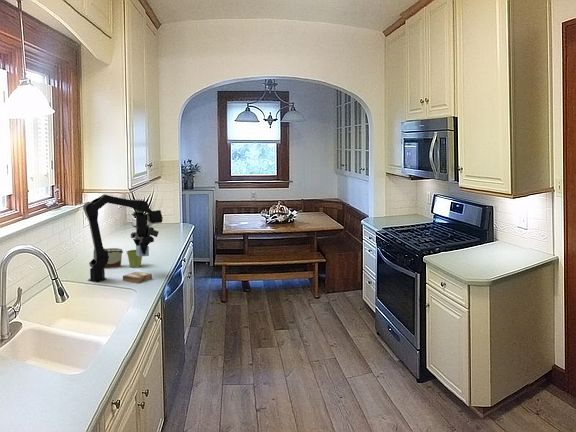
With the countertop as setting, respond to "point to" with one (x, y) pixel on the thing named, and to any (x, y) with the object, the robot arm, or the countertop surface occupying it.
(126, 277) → the base
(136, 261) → the plant pot
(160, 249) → the countertop surface
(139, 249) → the block
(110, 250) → the food container
